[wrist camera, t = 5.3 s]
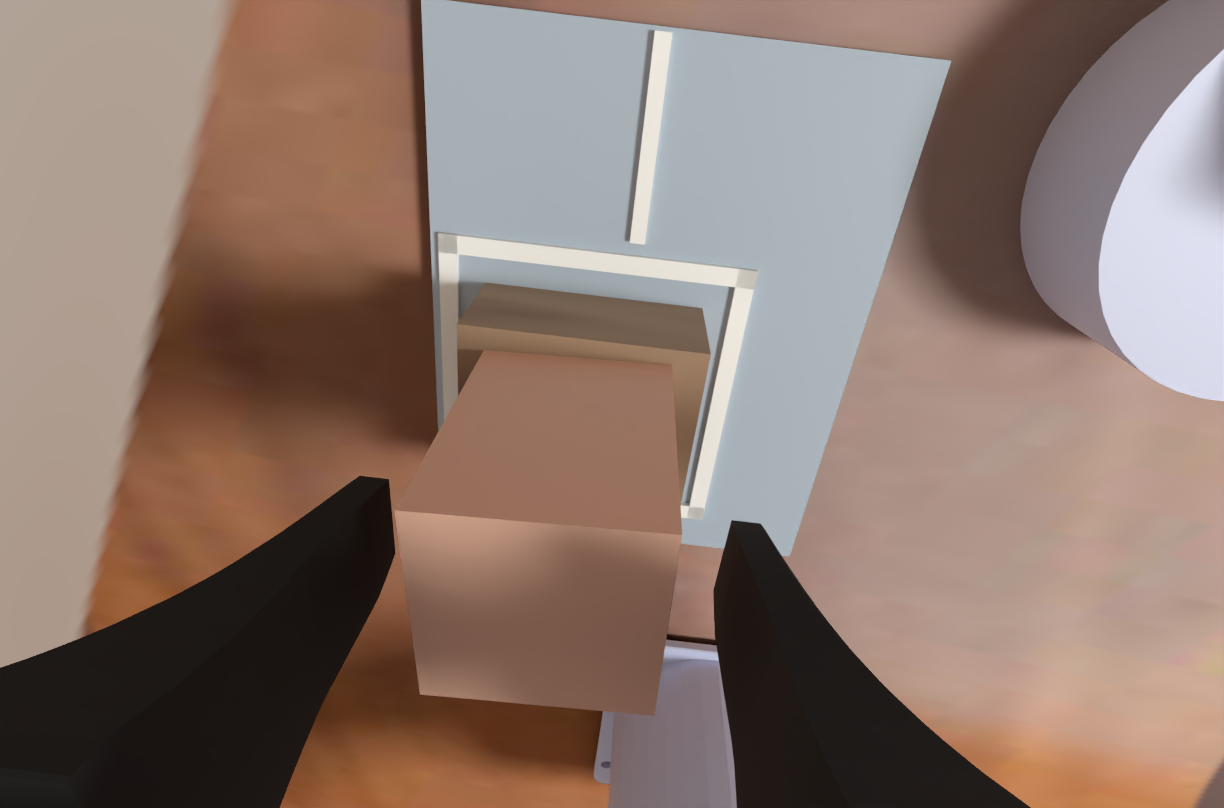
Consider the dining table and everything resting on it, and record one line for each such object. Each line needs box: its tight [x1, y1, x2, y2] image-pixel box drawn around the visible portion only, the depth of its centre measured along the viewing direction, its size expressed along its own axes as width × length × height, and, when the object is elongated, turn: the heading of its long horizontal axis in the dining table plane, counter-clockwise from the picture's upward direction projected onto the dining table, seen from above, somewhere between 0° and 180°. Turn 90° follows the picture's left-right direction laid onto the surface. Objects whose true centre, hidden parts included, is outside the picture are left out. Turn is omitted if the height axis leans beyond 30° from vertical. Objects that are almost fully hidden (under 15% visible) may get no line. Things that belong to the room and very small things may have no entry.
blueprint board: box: [421, 0, 951, 556], centre depth 18 cm, size 15×12×1 cm
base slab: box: [457, 283, 711, 506], centre depth 18 cm, size 6×6×3 cm
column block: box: [395, 350, 682, 716], centre depth 14 cm, size 4×4×6 cm
